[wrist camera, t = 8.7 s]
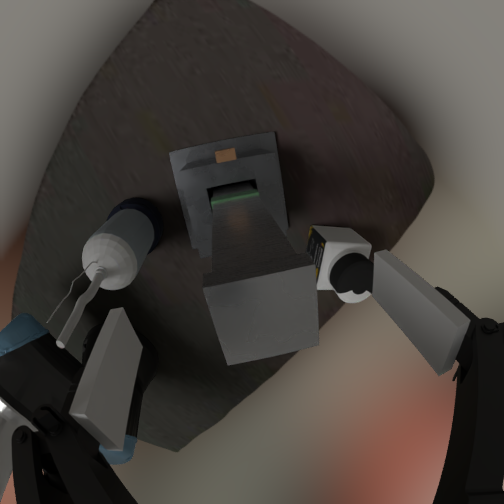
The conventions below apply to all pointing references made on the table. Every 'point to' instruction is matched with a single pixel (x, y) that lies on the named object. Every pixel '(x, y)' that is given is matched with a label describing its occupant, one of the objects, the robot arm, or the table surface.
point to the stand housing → (226, 180)
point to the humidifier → (116, 253)
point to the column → (257, 281)
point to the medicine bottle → (341, 262)
